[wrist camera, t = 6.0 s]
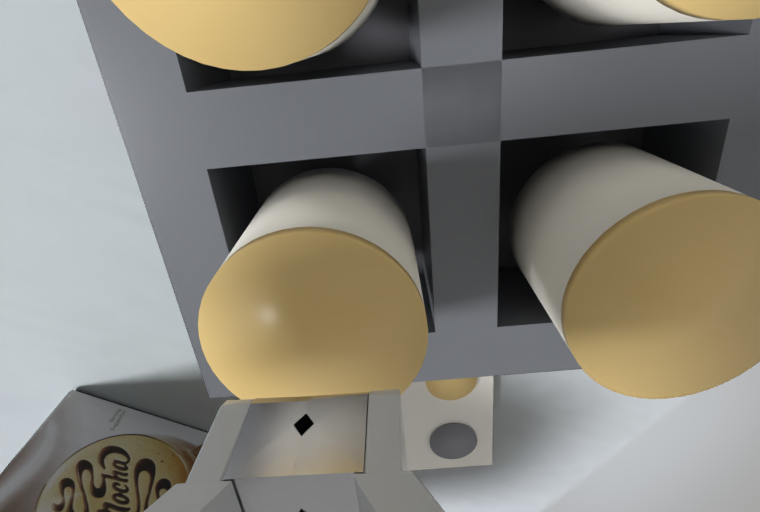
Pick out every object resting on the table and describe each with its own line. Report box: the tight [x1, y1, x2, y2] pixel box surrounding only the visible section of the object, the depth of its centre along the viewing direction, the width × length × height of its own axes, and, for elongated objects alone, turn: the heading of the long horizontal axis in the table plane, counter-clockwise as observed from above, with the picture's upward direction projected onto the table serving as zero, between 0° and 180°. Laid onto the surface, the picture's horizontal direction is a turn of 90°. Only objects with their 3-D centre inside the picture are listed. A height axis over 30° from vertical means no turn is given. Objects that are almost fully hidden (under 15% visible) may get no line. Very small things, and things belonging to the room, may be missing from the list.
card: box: [401, 376, 493, 471], centre depth 23 cm, size 8×8×1 cm
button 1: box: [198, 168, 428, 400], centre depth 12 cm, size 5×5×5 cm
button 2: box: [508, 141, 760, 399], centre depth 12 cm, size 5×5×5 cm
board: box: [77, 0, 760, 398], centre depth 14 cm, size 18×18×5 cm
